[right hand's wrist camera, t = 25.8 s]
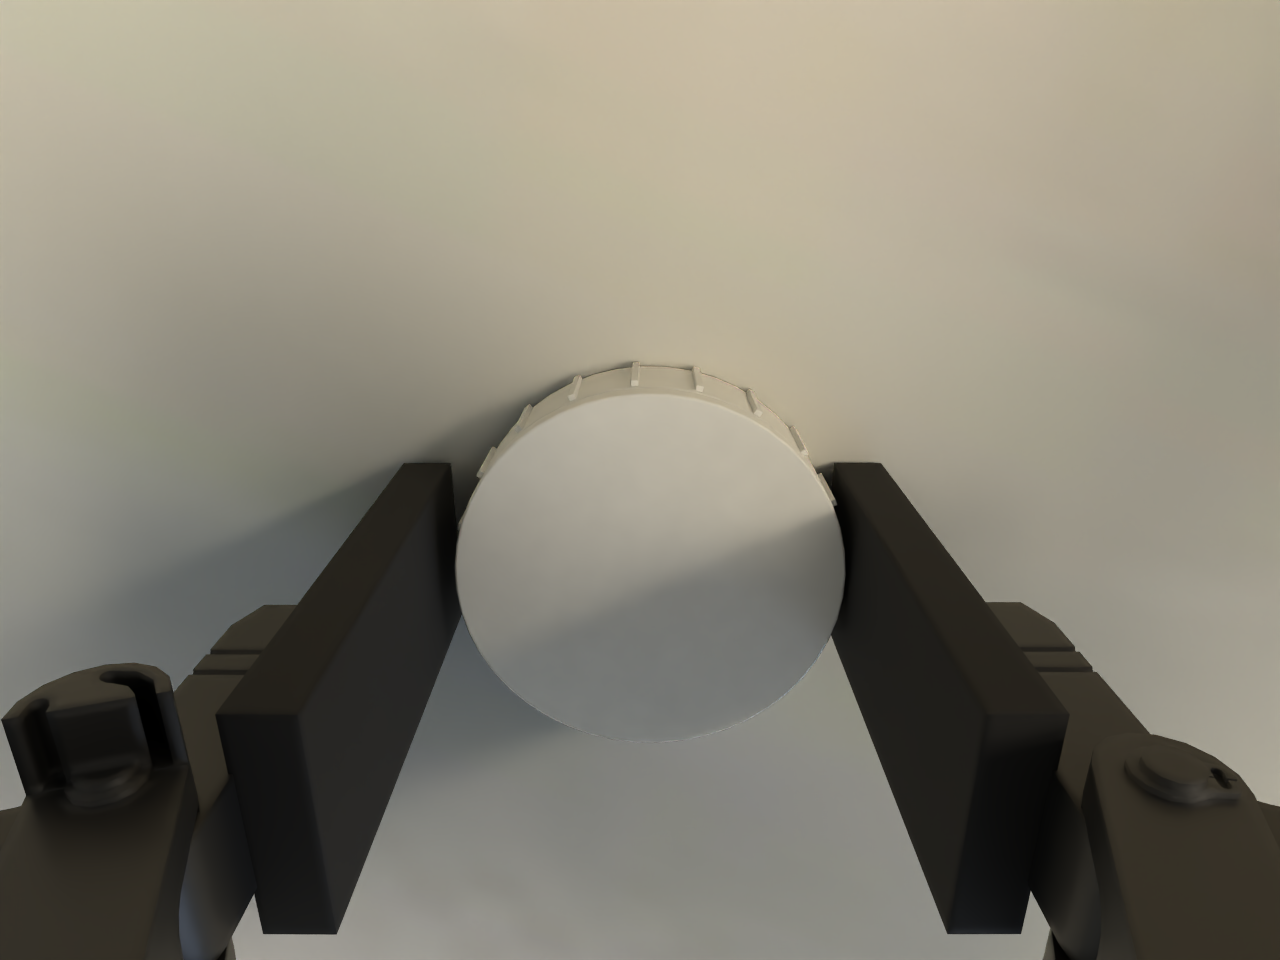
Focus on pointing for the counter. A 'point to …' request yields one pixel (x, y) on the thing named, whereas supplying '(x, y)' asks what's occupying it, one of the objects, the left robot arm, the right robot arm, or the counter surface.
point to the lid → (650, 556)
